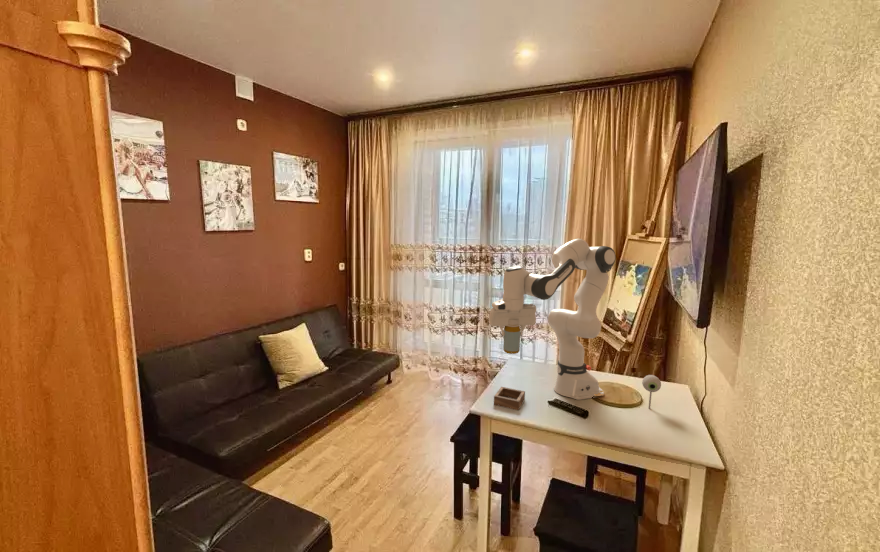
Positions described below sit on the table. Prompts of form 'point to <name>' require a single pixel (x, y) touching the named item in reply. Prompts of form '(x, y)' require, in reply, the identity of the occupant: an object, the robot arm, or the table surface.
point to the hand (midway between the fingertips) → (511, 335)
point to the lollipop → (651, 385)
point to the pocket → (509, 402)
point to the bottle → (512, 337)
